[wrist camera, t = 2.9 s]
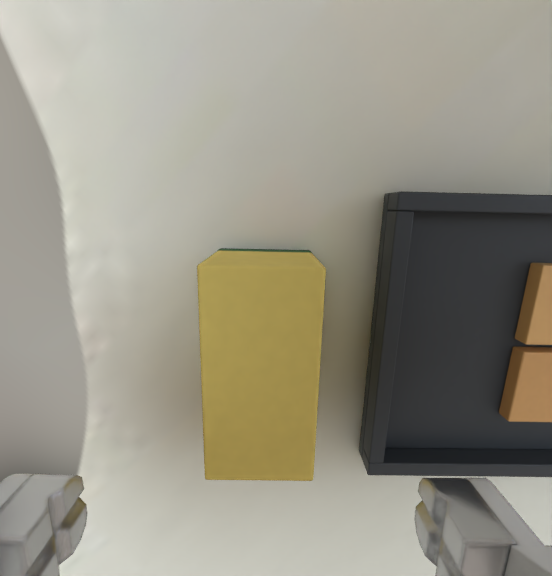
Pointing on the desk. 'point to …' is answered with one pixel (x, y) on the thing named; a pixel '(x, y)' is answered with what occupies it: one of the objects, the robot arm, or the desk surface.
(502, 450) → the tray
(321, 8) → the desk surface
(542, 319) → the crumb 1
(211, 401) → the sponge
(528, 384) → the crumb
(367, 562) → the desk surface
